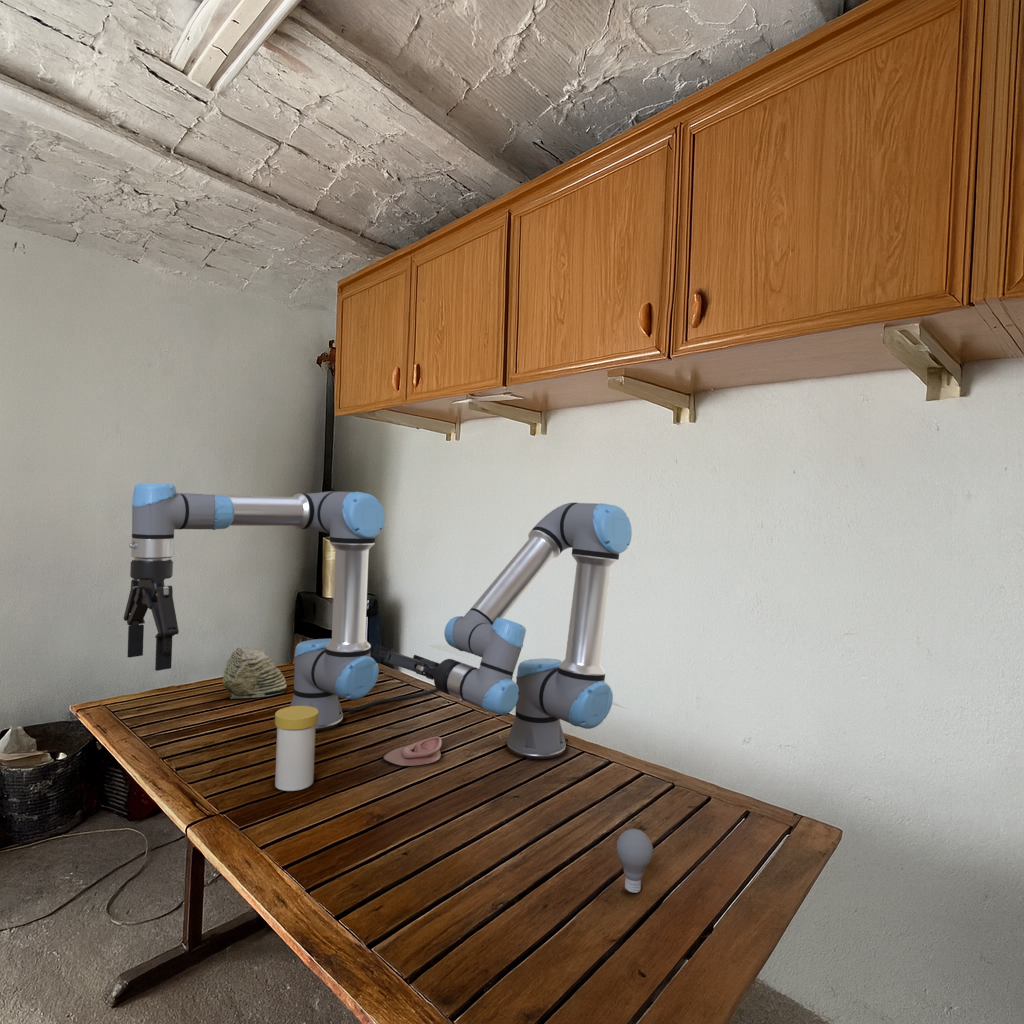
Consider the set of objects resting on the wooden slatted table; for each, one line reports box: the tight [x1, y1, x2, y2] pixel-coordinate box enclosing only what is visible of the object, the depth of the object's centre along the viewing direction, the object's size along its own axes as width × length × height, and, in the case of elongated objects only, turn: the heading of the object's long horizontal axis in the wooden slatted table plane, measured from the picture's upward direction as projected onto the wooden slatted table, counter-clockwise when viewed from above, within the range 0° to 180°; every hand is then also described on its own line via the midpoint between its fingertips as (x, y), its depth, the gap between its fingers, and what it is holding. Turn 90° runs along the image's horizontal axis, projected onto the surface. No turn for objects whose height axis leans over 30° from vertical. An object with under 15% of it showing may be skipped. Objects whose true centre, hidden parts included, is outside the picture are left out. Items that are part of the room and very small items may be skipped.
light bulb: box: [615, 828, 654, 894], centre depth 106 cm, size 6×6×10 cm
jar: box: [274, 725, 317, 792], centre depth 140 cm, size 8×8×15 cm
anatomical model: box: [383, 736, 443, 767], centre depth 156 cm, size 13×4×12 cm
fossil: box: [222, 646, 288, 699], centre depth 198 cm, size 9×18×15 cm, turn 132°
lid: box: [274, 706, 318, 730], centre depth 139 cm, size 9×9×2 cm
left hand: (148, 662), depth 129 cm, fingers open, 13 cm apart
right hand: (394, 655), depth 155 cm, fingers open, 13 cm apart
